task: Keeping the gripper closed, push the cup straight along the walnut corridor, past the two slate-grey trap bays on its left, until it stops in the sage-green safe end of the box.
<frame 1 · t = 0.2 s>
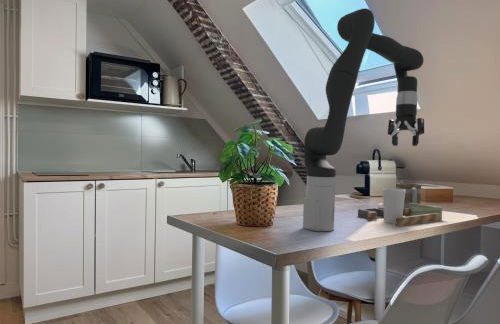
hand: (404, 145, 142), 28 cm above the table, fingers open, 8 cm apart
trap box: (409, 219, 140), on the table
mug: (409, 212, 160), on the table
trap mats: (383, 215, 147), on the table
cup: (392, 222, 135), on the table
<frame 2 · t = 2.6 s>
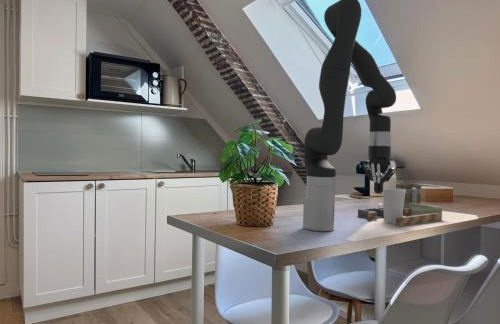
hand: (378, 193, 130), 11 cm above the table, fingers closed
nothing on the table moved.
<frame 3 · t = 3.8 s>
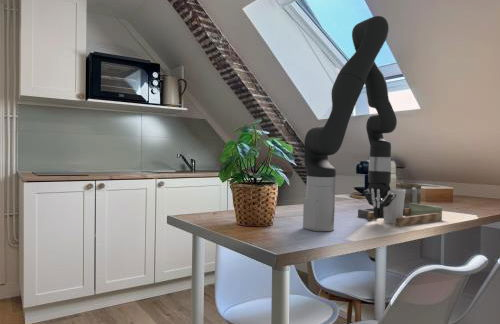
hand: (378, 218, 130), 2 cm above the table, fingers closed
nothing on the table moved.
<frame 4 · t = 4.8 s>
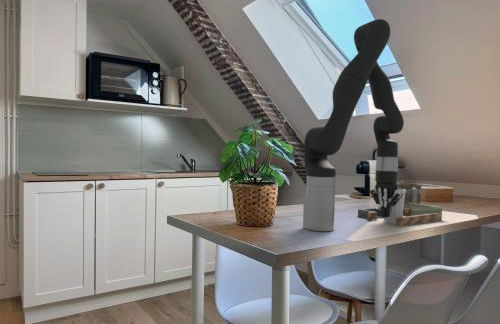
hand: (384, 217, 132), 2 cm above the table, fingers closed
cup: (392, 222, 135), on the table, touching gripper
everything else where it was.
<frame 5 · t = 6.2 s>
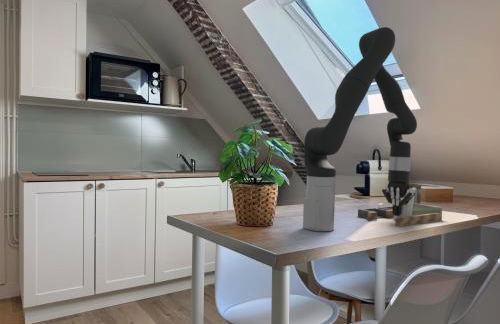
hand: (396, 215, 136), 2 cm above the table, fingers closed
cup: (402, 220, 139), on the table, touching gripper, hand
everything else where it was.
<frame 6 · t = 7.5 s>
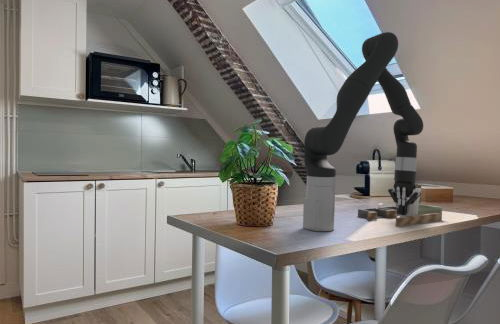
hand: (402, 215, 138), 2 cm above the table, fingers closed
cup: (408, 219, 141), on the table, touching gripper, hand
everything else where it was.
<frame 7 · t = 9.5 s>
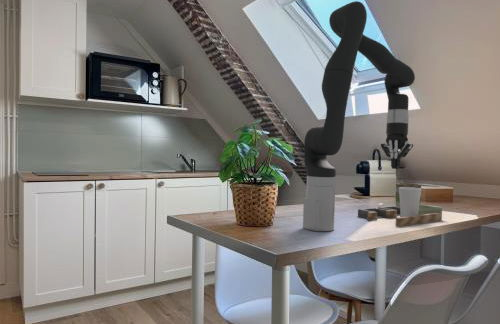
hand: (395, 168, 136), 20 cm above the table, fingers closed
cup: (408, 219, 141), on the table
everything else where it was.
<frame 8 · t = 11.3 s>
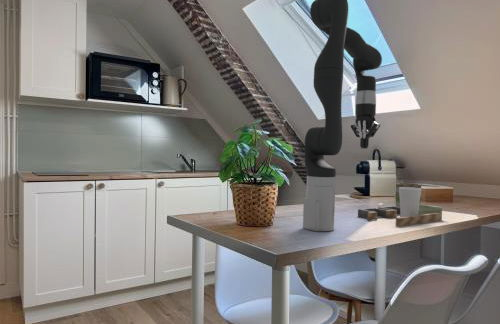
hand: (364, 148, 141), 27 cm above the table, fingers closed
nothing on the table moved.
at the end: cup inside the target area (3.4 cm from its centre), on the table; cup tilted 0°; cup moved 10.9 cm from its start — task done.
